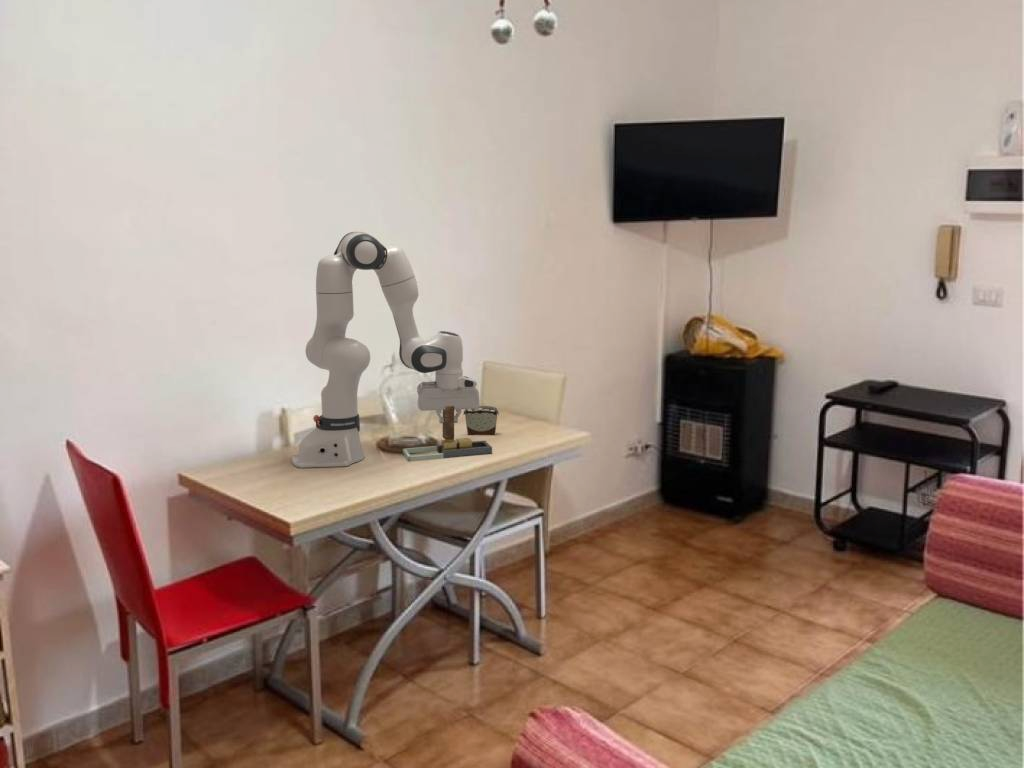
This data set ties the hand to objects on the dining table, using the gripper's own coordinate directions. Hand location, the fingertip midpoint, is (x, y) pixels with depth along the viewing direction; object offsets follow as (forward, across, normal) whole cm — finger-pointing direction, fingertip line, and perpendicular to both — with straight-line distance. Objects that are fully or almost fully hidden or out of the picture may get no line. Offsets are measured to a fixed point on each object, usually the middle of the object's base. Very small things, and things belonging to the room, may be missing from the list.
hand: (448, 422), depth 305 cm
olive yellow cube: (+8, +3, -10) cm, 13 cm away
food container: (+8, +15, +12) cm, 21 cm away
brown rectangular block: (+5, 0, 0) cm, 5 cm away
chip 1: (+8, -2, -10) cm, 12 cm away
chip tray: (+9, -10, -10) cm, 17 cm away
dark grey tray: (+9, +3, -10) cm, 13 cm away
